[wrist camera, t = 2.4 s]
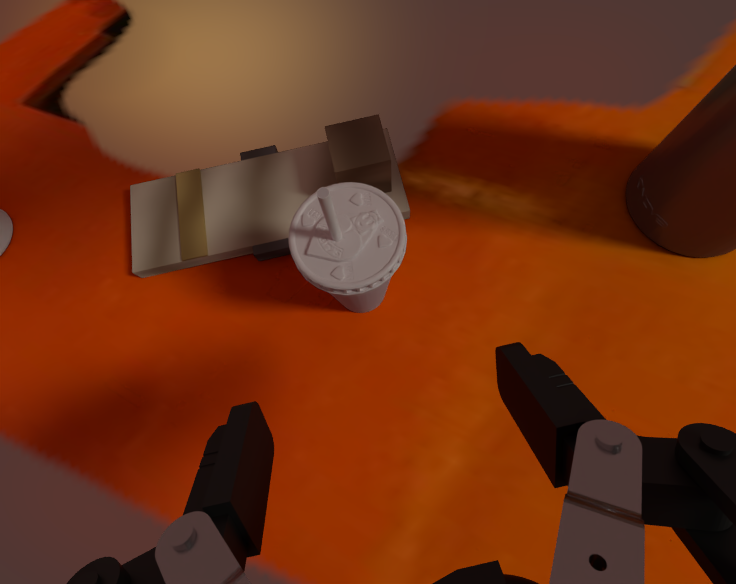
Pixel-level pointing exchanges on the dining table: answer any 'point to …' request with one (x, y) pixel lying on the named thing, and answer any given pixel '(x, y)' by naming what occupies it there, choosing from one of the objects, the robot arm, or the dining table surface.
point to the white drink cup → (349, 243)
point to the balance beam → (253, 198)
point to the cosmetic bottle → (5, 230)
